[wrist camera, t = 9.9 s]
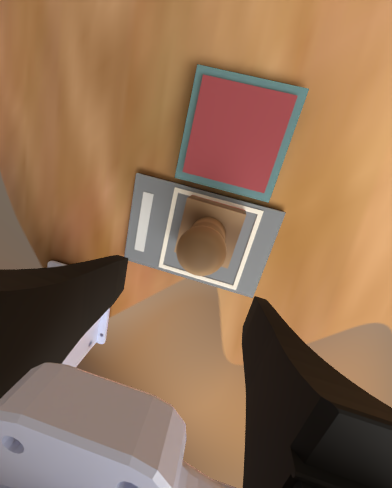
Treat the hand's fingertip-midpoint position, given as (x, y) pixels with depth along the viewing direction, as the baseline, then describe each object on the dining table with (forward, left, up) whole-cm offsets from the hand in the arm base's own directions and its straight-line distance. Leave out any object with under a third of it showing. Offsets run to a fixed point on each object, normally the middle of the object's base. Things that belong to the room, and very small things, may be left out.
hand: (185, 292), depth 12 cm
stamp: (+1, 0, -10) cm, 10 cm away
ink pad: (+9, 0, -10) cm, 14 cm away
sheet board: (0, +1, -10) cm, 10 cm away
